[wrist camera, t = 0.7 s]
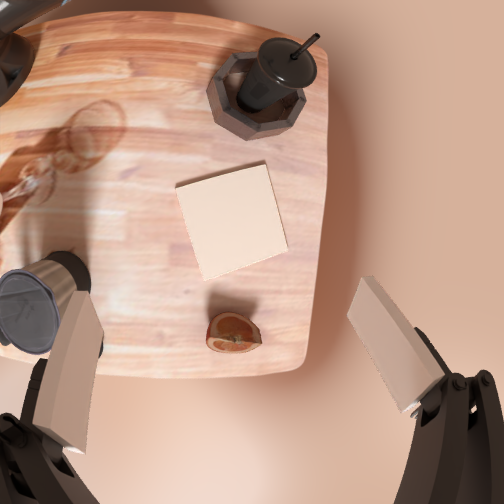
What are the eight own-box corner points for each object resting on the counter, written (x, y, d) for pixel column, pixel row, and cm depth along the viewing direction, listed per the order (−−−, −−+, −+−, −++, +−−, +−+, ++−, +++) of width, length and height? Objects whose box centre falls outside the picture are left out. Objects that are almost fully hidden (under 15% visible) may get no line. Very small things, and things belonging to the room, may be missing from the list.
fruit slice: (257, 314, 43) (268, 326, 39) (245, 350, 44) (255, 364, 39) (208, 304, 41) (214, 316, 36) (197, 343, 41) (203, 358, 36)
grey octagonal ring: (200, 71, 35) (206, 56, 30) (276, 64, 38) (288, 51, 34) (221, 146, 38) (230, 137, 33) (298, 131, 41) (314, 124, 37)
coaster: (174, 188, 36) (175, 188, 36) (264, 164, 40) (265, 164, 40) (203, 280, 40) (204, 281, 39) (286, 250, 44) (288, 250, 43)
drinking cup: (276, 121, 40) (355, 72, 21) (230, 122, 38) (289, 58, 19) (269, 81, 38) (338, 19, 20) (225, 79, 36) (276, 3, 17)
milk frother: (60, 236, 32) (12, 249, 18) (137, 306, 37) (128, 355, 23) (19, 304, 30) (-26, 341, 16) (90, 366, 35) (72, 425, 21)
